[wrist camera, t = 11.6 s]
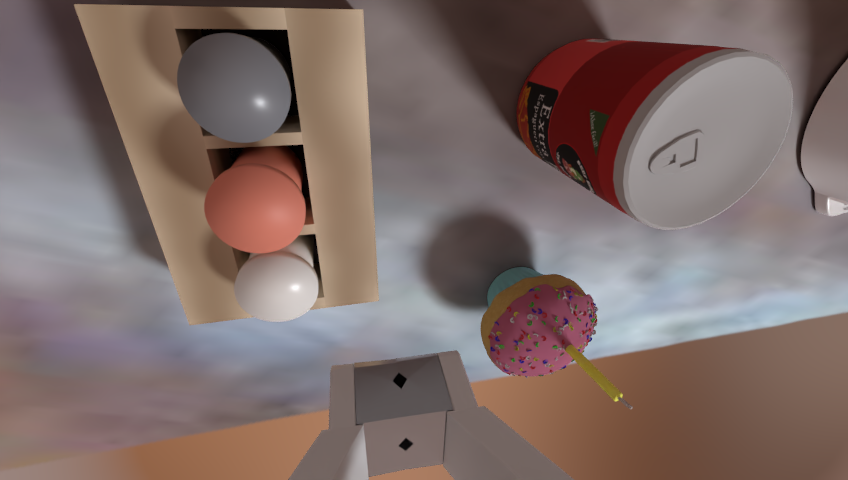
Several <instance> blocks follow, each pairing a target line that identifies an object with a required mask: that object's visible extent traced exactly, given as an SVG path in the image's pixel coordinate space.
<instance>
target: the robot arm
mask: <svg viewBox="0 0 848 480" xmlns="http://www.w3.org/2000/svg"><path fill="white" fill-rule="evenodd" d="M801 166H802V170H803V173H804V176H805V178H806V179H807V181H808V182H809V183H810V184H811V186H812V187H813V189H814V191H815V208H816V211H817V212H818V213H821V214H825V215H828V216H836V215H839V214H842V213H846V212H848V59H847V60H846V61H845V63H844V64H843V65H842V66H841V67H840V69H839V70H838V71H837V73H836V74H835V75H834V77H833V78H832V80H831V81H830V83H829V84H828V86H827V87H826V89H825V90H824V92H823V94H822V95H821V97H820V99H819V101H818V102H817V104H816V106H815V108H814V110H813V113H812V115H811V117H810V120H809V122H808V125H807V128H806V131H805V134H804V138H803V142H802V148H801ZM440 464H443V466H444V467H445V469H446V470H447V471H448V472H449V473H450V475H451V476H452V477H453V478H454V479H455V480H574V479H572V477H570V476H569V475H568V474H567V473H565V472H564V471H563V470H562V469H561V468H559V467H558V466H557V465H556V464H554V463H553V462H552V461H551V460H549V459H548V458H547V457H546V456H544V455H543V454H542V453H541V452H540V451H538V450H537V449H536V448H535V447H534V446H532V445H531V444H530V443H529V442H528V441H526V440H525V439H524V438H523V437H521V436H520V435H519V434H518V433H516V432H515V431H514V430H513V429H512V428H510V427H509V426H508V425H507V424H506V423H504V422H503V421H502V420H501V419H499V418H498V417H497V416H496V415H495V414H493V413H492V412H491V411H489V410H488V409H487V408H486V407H485V406H482V407H478V405H477V402H476V399H475V396H474V394H473V391H472V388H471V385H470V382H469V379H468V377H467V374H466V371H465V368H464V365H463V362H462V360H461V357H460V354H459V353H458V351H457V350H456V351H449V352H441V353H437V354H436V353H433V354H425V355H418V356H411V357H403V358H396V359H391V360H381V361H371V362H361V363H354V364H344V365H335V366H332V368H331V373H330V407H329V429H328V430H323V431H321V433H320V434H319V436H318V437H317V439H316V440H315V441H314V443H313V444H312V446H311V447H310V449H309V450H308V452H307V453H306V455H305V456H304V457H303V459H302V460H301V462H300V463H299V465H298V466H297V468H296V469H295V471H294V472H293V474H292V475H291V477H290V478H289V479H288V480H369V478H368V477H371V476H376V475H381V474H385V473H390V472H395V471H400V470H405V469H412V468H419V467H426V466H433V465H440Z"/></svg>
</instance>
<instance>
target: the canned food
mask: <svg viewBox="0 0 848 480" xmlns="http://www.w3.org/2000/svg"><path fill="white" fill-rule="evenodd" d="M792 108H793V92H792V85H791V82H790V79H789V77H788V74H787V72H786V71H785V69H784V68H783V67H782V66H781V64H780V63H779V62H778V61H776V60H775V59H773V58H771V57H770V56H768V55H766V54H762V53H758V52H753V51H748V50H744V49H740V48H725V47H718V46H704V45H689V44H673V43H657V42H641V41H625V40H609V39H582V40H578V41H574V42H571V43H569V44H566V45H564V46H562V47H560V48H558V49H556V50H554V51H553V52H551V53H550V54H549V55H547V56H546V57H544V58H543V59H542V60H541V61H540V62H539V63H538V64H537V65H536V66H535V67H534V69H533V70H532V72H531V73H530V74H529V76H528V77H527V79H526V81H525V83H524V85H523V87H522V89H521V92H520V96H519V99H518V104H517V124H518V128H519V131H520V134H521V137H522V139H523V141H524V143H525V144H526V146H527V148H528V149H529V150H530V151H531V152H532V153H533V154H534V155H535V156H537V157H538V158H540V159H542V160H543V161H545V162H546V163H548V164H549V165H551V166H552V167H554V168H555V169H557V170H558V171H560V172H562V173H563V174H565V175H566V176H568V177H569V178H571V179H572V180H574V181H575V182H577V183H579V184H580V185H582V186H583V187H585V188H586V189H588V190H589V191H591V192H592V193H594V194H596V195H597V196H599V197H600V198H602V199H603V200H605V201H606V202H608V203H609V204H611V205H612V206H614V207H616V208H617V209H619V210H620V211H622V212H623V213H625V214H627V215H629V216H630V217H632V218H634V219H635V220H637V221H639V222H642V223H644V224H646V225H647V226H650V227H654V228H657V229H664V230H676V229H683V228H688V227H691V226H694V225H697V224H701V223H703V222H705V221H707V220H709V219H711V218H713V217H715V216H717V215H718V214H720V213H722V212H723V211H725V210H726V209H728V208H729V207H731V206H732V205H733V204H734V203H736V202H737V201H738V200H739V199H740V198H742V197H743V196H744V195H745V194H746V193H747V192H748V191H749V190H750V189H751V188H752V187H753V186H754V185H755V184H756V183H757V182H758V180H759V179H760V178H761V177H762V175H763V174H764V173H765V172H766V170H767V169H768V168H769V166H770V165H771V163H772V161H773V160H774V158H775V157H776V155H777V153H778V152H779V150H780V147H781V145H782V143H783V141H784V139H785V136H786V134H787V131H788V127H789V124H790V121H791V116H792Z"/></svg>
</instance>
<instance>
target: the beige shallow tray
mask: <svg viewBox="0 0 848 480" xmlns="http://www.w3.org/2000/svg"><path fill="white" fill-rule="evenodd" d="M74 7H75V9H76V12H77V15H78V18H79V20H80V23H81V26H82V29H83V31H84V34H85V37H86V40H87V43H88V45H89V48H90V51H91V54H92V56H93V59H94V62H95V65H96V67H97V70H98V73H99V76H100V79H101V81H102V84H103V87H104V90H105V92H106V95H107V98H108V101H109V103H110V106H111V109H112V112H113V115H114V117H115V120H116V123H117V126H118V128H119V131H120V134H121V137H122V139H123V142H124V145H125V148H126V151H127V153H128V156H129V159H130V162H131V164H132V167H133V170H134V173H135V175H136V178H137V181H138V184H139V186H140V189H141V192H142V195H143V198H144V200H145V203H146V206H147V209H148V211H149V214H150V217H151V220H152V222H153V225H154V228H155V231H156V234H157V236H158V239H159V242H160V245H161V247H162V250H163V253H164V256H165V258H166V261H167V264H168V267H169V270H170V272H171V275H172V278H173V281H174V283H175V286H176V289H177V292H178V294H179V297H180V300H181V303H182V306H183V308H184V311H185V314H186V317H187V319H188V322H189V325H196V324H204V323H212V322H219V321H227V320H235V319H243V318H250V317H253V316H251V315H250V314H248V313H247V312H246V311H244V310H243V309H242V308H241V306H240V305H239V304H238V302H237V300H236V297H235V293H234V285H235V281H236V278H237V275H238V272H239V270H240V268H241V267H242V266H243V264H244V263H245V262H246V261H248V259H249V256H250V252H245V251H241V250H238V249H236V248H233V247H231V246H229V245H228V244H226V243H225V242H223V241H222V240H221V239H220V238H218V236H217V235H216V234H215V233H214V232H213V231H212V229H211V228H210V226H209V224H208V222H207V219H206V217H205V212H204V202H205V197H206V194H207V192H208V190H209V188H210V186H211V185H212V183H213V182H214V181H215V179H216V178H217V177H218V176H219V175H220V174H221V173H223V172H224V171H225V170H227V169H229V168H231V167H232V161H231V157H230V153H229V148H240V147H261V146H282V145H303V147H304V155H305V162H306V169H307V176H308V183H309V191H310V197H304V199H305V204H306V214H305V222H304V226H303V228H302V231H301V232H300V234H299V235H308V234H316V241H317V249H318V256H319V263H317V264H313V268H314V270H315V271H316V274H317V277H318V296H317V299H316V301H315V303H314V305H313V306H312V307H311V308H310V310H312V309H320V308H327V307H335V306H343V305H351V304H358V303H366V302H374V301H379V295H378V276H377V258H376V240H375V221H374V203H373V185H372V166H371V148H370V130H369V111H368V93H367V74H366V56H365V38H364V19H363V10H358V9H306V8H254V7H202V6H150V5H98V4H74ZM201 29H276V30H287V32H288V39H289V46H290V53H291V61H292V68H293V75H294V82H295V89H296V97H297V104H298V111H299V115H294V116H287V117H286V119H285V121H284V122H283V124H282V125H281V127H280V128H279V129H278V130H277V131H276V132H274V133H273V134H272V135H270V136H269V137H267V138H265V139H262V140H260V141H256V142H250V143H238V142H232V141H228V140H224V139H222V138H219V137H217V136H215V135H213V134H211V133H210V132H208V131H206V130H205V129H204V128H203V127H201V126H200V125H199V124H198V123H197V122H196V121H195V120H194V119H193V118H192V116H191V115H190V114H189V113H188V111H187V109H186V108H185V106H184V104H183V102H182V100H181V97H180V94H179V90H178V85H177V71H178V66H179V63H180V60H181V58H182V56H183V54H184V53H185V51H186V50H187V49H188V48H189V47H190V46H191V45H192V44H193V43H194V42H195V41H197V40H199V39H201V38H203V37H202V32H201Z"/></svg>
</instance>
